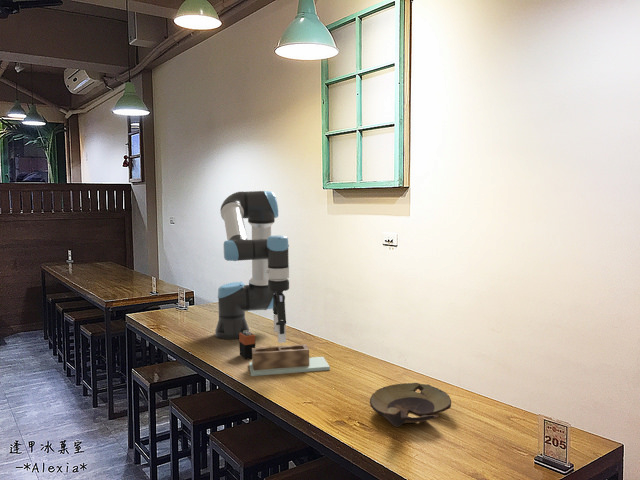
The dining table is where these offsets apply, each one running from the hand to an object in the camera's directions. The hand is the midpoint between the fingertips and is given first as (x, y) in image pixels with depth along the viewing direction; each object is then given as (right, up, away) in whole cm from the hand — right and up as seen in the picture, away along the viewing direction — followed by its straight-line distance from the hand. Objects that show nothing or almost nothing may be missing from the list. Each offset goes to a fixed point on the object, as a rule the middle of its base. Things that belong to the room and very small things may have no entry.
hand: (279, 336), depth 193 cm
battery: (-14, -11, +15) cm, 23 cm away
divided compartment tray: (0, -10, 0) cm, 10 cm away
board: (+3, -11, +1) cm, 12 cm away
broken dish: (+38, -15, -43) cm, 59 cm away
